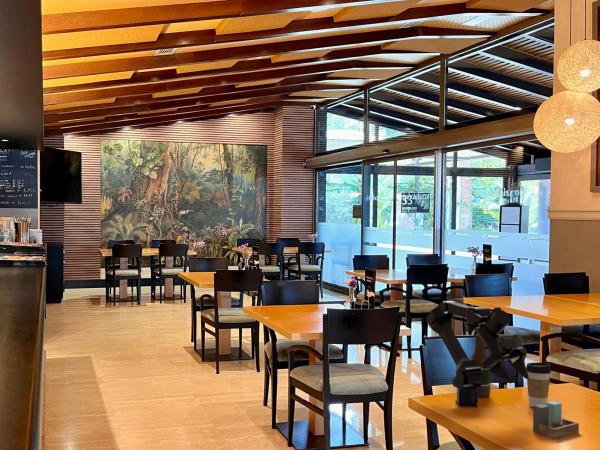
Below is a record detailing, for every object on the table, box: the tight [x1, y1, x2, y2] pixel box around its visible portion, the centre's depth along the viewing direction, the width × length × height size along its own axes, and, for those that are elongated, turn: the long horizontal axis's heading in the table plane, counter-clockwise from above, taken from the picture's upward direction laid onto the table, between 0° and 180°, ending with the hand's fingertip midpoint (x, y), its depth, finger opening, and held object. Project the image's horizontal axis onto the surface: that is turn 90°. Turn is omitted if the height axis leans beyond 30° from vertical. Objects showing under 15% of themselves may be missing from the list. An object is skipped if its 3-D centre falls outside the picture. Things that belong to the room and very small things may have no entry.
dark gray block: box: [532, 404, 549, 434], centre depth 206 cm, size 3×4×8 cm
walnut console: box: [539, 418, 580, 440], centre depth 205 cm, size 6×12×3 cm, turn 124°
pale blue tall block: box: [546, 400, 563, 427], centre depth 210 cm, size 3×4×8 cm
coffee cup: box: [525, 362, 552, 408], centre depth 235 cm, size 8×8×15 cm
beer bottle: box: [469, 335, 492, 399], centre depth 247 cm, size 8×8×24 cm
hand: (519, 380), depth 216 cm, fingers open, 9 cm apart
